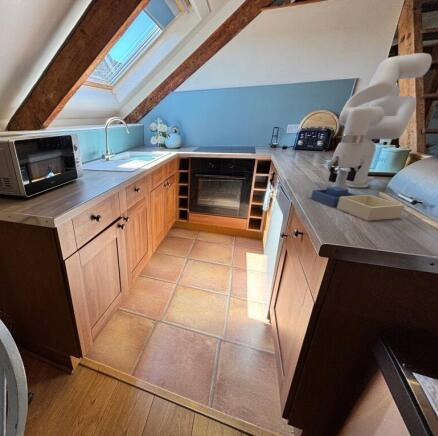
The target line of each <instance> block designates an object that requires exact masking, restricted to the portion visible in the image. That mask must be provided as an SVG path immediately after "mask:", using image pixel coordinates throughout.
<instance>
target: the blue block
mask: <svg viewBox="0 0 438 436" xmlns="http://www.w3.org/2000/svg"><path fill="white" fill-rule="evenodd" d="M325 189H326V192H325V194H326V195H329V196H332V197H335V198H338V197H343V196H347V193H348V192H349V189H348V188H347V189H344V188H341V187H331V186H326V188H325Z"/></svg>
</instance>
